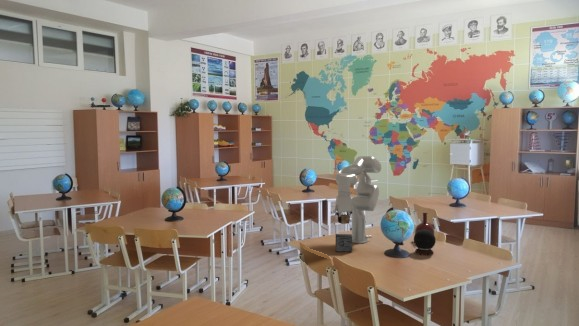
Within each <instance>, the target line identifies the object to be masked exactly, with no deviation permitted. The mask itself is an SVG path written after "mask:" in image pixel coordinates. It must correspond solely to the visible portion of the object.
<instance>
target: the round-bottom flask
mask: <svg viewBox="0 0 579 326" xmlns="http://www.w3.org/2000/svg"><path fill="white" fill-rule="evenodd" d="M427 221H428V212H422V222H420V223H419V224H417V225H416V226H415V229H414V235H415V234H416V232H417V231H419V230H422V229H426V230H429V231H431V232H432V233H433V234H434V235H435V234H436V233H435V229H434V227H433V225H432V224H431V223H428V222H427Z"/></svg>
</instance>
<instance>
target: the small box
mask: <svg viewBox="0 0 579 326" xmlns="http://www.w3.org/2000/svg"><path fill="white" fill-rule="evenodd" d="M335 253H353V243H352V233H344V234H343V233H336V234H335Z"/></svg>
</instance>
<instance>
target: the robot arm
mask: <svg viewBox="0 0 579 326" xmlns="http://www.w3.org/2000/svg"><path fill="white" fill-rule="evenodd" d="M381 170H382V164H381V162H380V160H378V159H377V158H376V157H374V156H370V155H369V156H368V155H366V156H365V155H360V156H357V158H355V160H354V161H353V162H352V164H350V165H347V166H346V167H343V168H341V169H340V170H339V171H337V174H336V175H335V182H336V184H337V188H338V189H337V196H336V199H335V206H334V209H333V211H332V212H333V213H334V214H335V215H336V216H337V222H338V223H339V224H341V215H342V213H346V215H349V222H350V220H351V234H352V244H365V243H368V239H372V238H373V237H372V235H370V234H369V235H368V234H366V214H365V212H374V211H375V209H376V207H377V203H378V199H379V195H380V189H379V186H378V185H376V184H371V183H372V179H371V177H370V176H369V175H368V174H378V173H380V172H381ZM358 177H359V179H358ZM357 183H358V184H357ZM355 185H357V187H356V189H355V190H356V191H355V193H356V195H357V196H352V194H353V193H352V192H351V186H355Z"/></svg>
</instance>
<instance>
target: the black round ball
mask: <svg viewBox="0 0 579 326" xmlns="http://www.w3.org/2000/svg"><path fill="white" fill-rule="evenodd" d="M436 241H437V240H436V236H435V234H433V233H432V232H431V231H429V230H426V229H422V230H419V231H417V232H416V234H415V233H414V235H413V243H414V245H415V247H416V249H415V251H414V253H415V254H416V255H420V256H421V255H422V256H433V255H434V253H435V252H434V251H433V249H432V248H434V246H435V244H436Z"/></svg>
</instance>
